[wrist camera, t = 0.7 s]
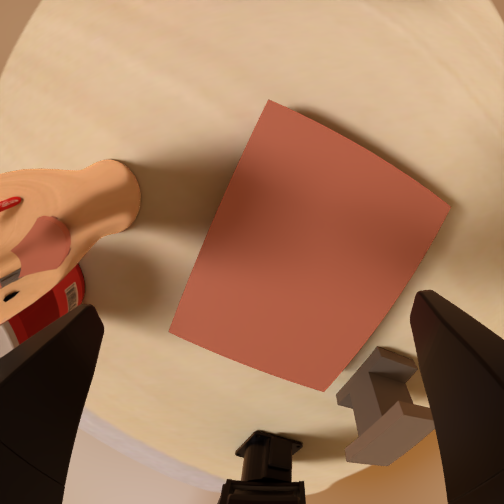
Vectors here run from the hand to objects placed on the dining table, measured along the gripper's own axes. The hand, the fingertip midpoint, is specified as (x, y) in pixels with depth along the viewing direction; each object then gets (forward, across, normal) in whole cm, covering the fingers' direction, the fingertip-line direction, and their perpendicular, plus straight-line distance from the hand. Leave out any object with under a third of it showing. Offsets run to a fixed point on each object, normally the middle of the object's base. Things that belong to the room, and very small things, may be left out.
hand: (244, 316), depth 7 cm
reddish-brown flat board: (+14, -2, +7) cm, 15 cm away
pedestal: (+12, -9, +20) cm, 25 cm away
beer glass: (+15, +13, +1) cm, 19 cm away
